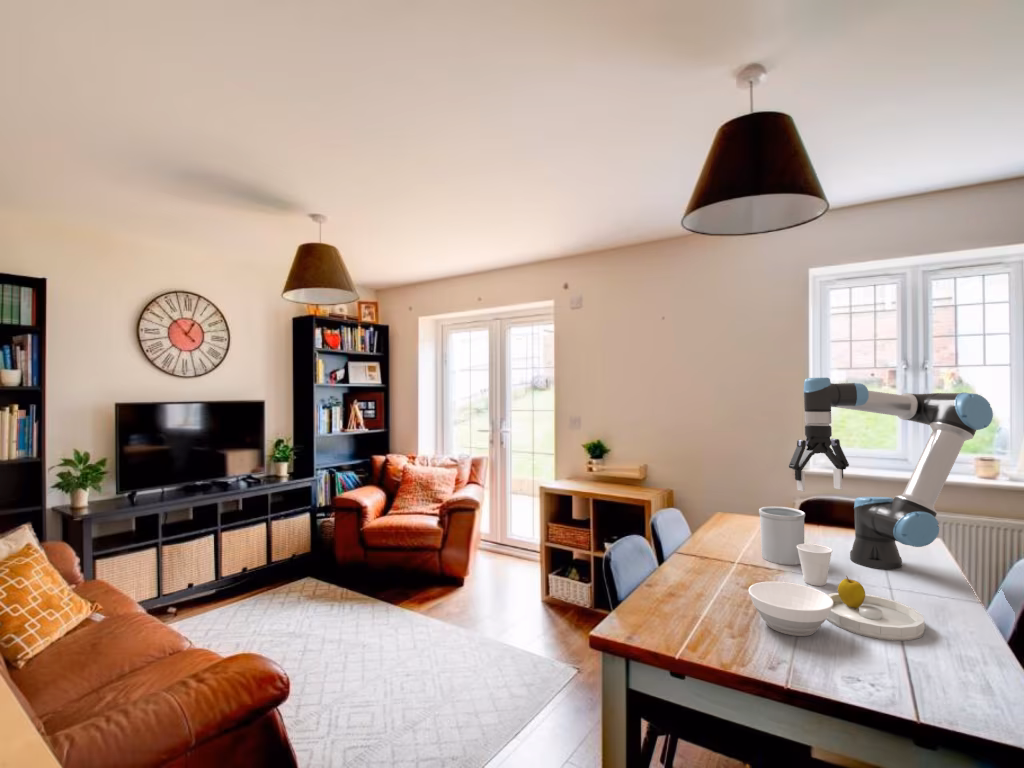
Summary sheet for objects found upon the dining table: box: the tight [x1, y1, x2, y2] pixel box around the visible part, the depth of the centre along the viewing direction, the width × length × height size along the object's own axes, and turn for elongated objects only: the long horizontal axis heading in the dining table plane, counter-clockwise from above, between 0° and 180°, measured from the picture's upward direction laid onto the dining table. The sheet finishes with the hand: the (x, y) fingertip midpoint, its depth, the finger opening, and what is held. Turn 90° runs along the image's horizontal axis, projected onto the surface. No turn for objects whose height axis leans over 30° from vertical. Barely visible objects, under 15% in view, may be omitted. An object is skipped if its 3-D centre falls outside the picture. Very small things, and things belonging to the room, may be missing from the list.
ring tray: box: [825, 592, 926, 642], centre depth 137 cm, size 22×22×3 cm
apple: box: [837, 575, 866, 608], centre depth 144 cm, size 6×6×8 cm
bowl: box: [748, 581, 833, 637], centre depth 134 cm, size 19×19×8 cm
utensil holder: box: [758, 506, 806, 566], centre depth 189 cm, size 15×15×18 cm
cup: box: [797, 543, 833, 587], centre depth 165 cm, size 10×10×11 cm
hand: (819, 489), depth 169 cm, fingers open, 13 cm apart
